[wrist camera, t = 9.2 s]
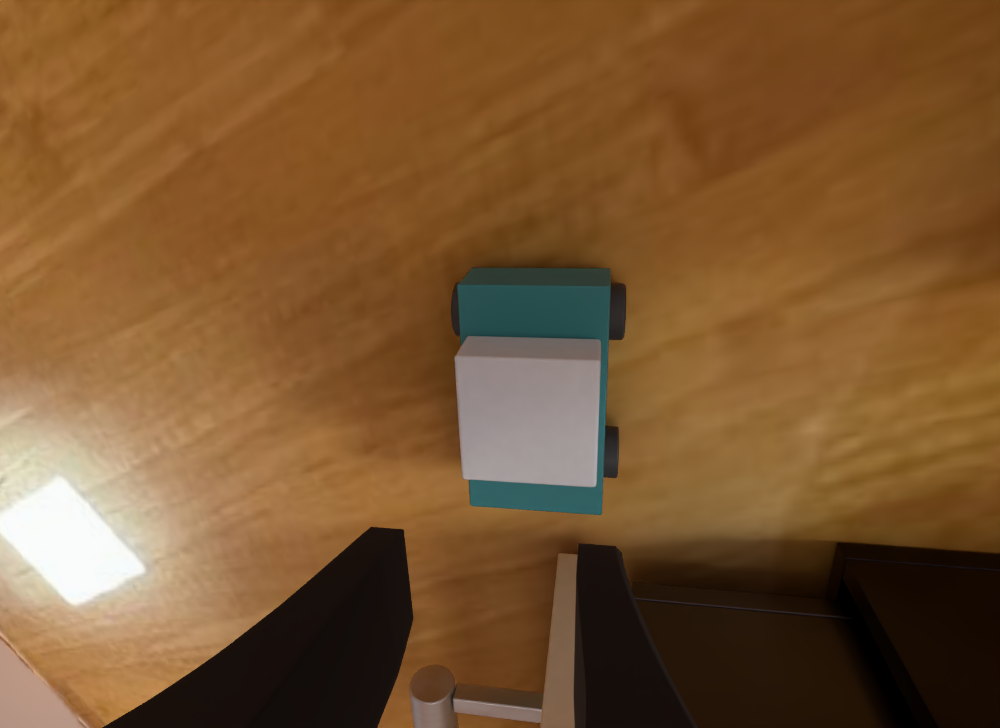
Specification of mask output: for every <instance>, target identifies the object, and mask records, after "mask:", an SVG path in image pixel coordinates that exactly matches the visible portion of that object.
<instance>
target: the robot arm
mask: <svg viewBox="0 0 1000 728" xmlns="http://www.w3.org/2000/svg"><path fill="white" fill-rule="evenodd" d="M412 622H413V610H412V601H411V592H410V583H409V574H408V565H407V556H406V547H405V538H404V530H403V529H390V528H378V527H370V528H369V529H368V530H367V531H366V532H364V533H363V534H362V535H361V536H360V537H359V538H357V539H356V540H355V541H354V542H353V543H352V544H351V545H349V546H348V547H347V548H346V549H345V550H344V551H343V552H341V553H340V554H339V555H338V556H337V557H336V558H335V559H333V560H332V561H331V562H330V563H329V564H328V565H327V566H325V567H324V568H323V569H322V570H321V571H320V572H319V573H317V574H316V575H315V576H314V577H313V578H312V579H311V580H309V581H308V582H307V583H306V584H305V585H303V586H302V587H301V588H300V589H299V590H298V591H296V592H295V593H294V594H293V595H292V596H290V597H289V598H288V599H287V600H286V601H285V602H283V603H282V604H281V605H280V606H279V607H277V608H276V609H275V610H274V611H272V612H271V613H270V614H268V615H267V616H266V617H265V618H263V619H262V620H261V621H259V622H258V623H257V624H256V625H254V626H253V627H252V628H250V629H249V630H248V631H247V632H245V633H244V634H243V635H241V636H240V637H239V638H238V639H236V640H235V641H234V642H233V643H231V644H230V645H229V646H227V647H226V648H225V649H223V650H222V651H220V652H219V653H218V654H216V655H215V656H214V657H212V658H211V659H209V660H208V661H207V662H205V663H204V664H202V665H201V666H199V667H198V668H197V669H195V670H194V671H192V672H191V673H189V674H188V675H186V676H185V677H183V678H182V679H180V680H179V681H177V682H176V683H174V684H173V685H171V686H170V687H168V688H167V689H165V690H164V691H162V692H161V693H159V694H157V695H156V696H154V697H153V698H151V699H150V700H148V701H146V702H145V703H143V704H142V705H140V706H138V707H136V708H135V709H133V710H131V711H130V712H128V713H126V714H125V715H123V716H121V717H120V718H118V719H116V720H115V721H113V722H111V723H109V724H108V725H106V726H104V727H103V728H377V726H378V724H379V721H380V719H381V716H382V714H383V711H384V709H385V706H386V704H387V701H388V699H389V696H390V694H391V691H392V689H393V686H394V684H395V681H396V679H397V676H398V673H399V669H400V666H401V662H402V659H403V655H404V652H405V648H406V645H407V641H408V637H409V633H410V630H411V626H412ZM574 721H575V728H698V727H697V725H696V723H695V721H694V720H693V718H692V716H691V714H690V713H689V711H688V709H687V707H686V705H685V704H684V702H683V700H682V698H681V696H680V694H679V692H678V690H677V689H676V687H675V685H674V683H673V681H672V679H671V677H670V675H669V673H668V671H667V669H666V667H665V665H664V663H663V661H662V659H661V657H660V655H659V653H658V651H657V649H656V646H655V644H654V642H653V640H652V638H651V635H650V633H649V631H648V629H647V627H646V625H645V622H644V620H643V617H642V615H641V613H640V610H639V608H638V605H637V602H636V600H635V597H634V595H633V592H632V589H631V586H630V583H629V580H628V577H627V574H626V570H625V567H624V563H623V558H622V553H621V552H620V550H619V549H618V548H617V547H616V546H607V545H594V544H581V543H578V555H577V569H576V605H575V651H574Z"/></svg>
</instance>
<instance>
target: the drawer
mask: <svg viewBox="0 0 1000 728" xmlns="http://www.w3.org/2000/svg"><path fill="white" fill-rule="evenodd" d="M576 569H577V555H575V554H563V553H559V554H558V561H557V570H556V580H555V589H554V599H553V609H552V618H551V628H550V638H549V647H548V657H547V666H546V676H545V686H544V693H538V692H530V691H521V690H513V689H505V688H496V687H488V686H479V685H471V684H463V683H457V685H456V688H455V679H454V676H453V674H452V673H451V671H450V670H449V669H447V668H446V667H444V666H441V665H429V666H425V667H423V668H421V669H420V670H418V671H417V672H416V673H415V674H414V675H413V677H412V679H411V681H410V684H409V691H410V699H411V707H412V716H413V724H414V728H459V727H458V715H457V713H463V714H471V715H479V716H487V717H495V718H503V719H511V720H518V721H526V722H534V723H541V724H540V728H575V721H574V651H575V605H576ZM632 592H633V595H634V597H635V600H636V602H637V605H638V608H639V610H640V613H641V615H642V617H643V620H644V622H645V625H646V627H647V629H648V631H649V633H650V635H651V638H652V640H653V642H654V644H655V646H656V649H657V651H658V653H659V655H660V657H661V659H662V661H663V663H664V665H665V667H666V669H667V671H668V673H669V675H670V677H671V679H672V681H673V683H674V685H675V687H676V689H677V690H678V692H679V694H680V696H681V698H682V700H683V702H684V704H685V705H686V707H687V709H688V711H689V713H690V714H691V716H692V718H693V720H694V721H695V723H696V725H697V727H698V728H920V727H919V725H918V723H917V721H916V719H915V717H914V715H913V713H912V711H911V710H910V708H909V706H908V704H907V702H906V700H905V698H904V696H903V694H902V692H901V690H900V688H899V686H898V684H897V683H896V681H895V679H894V677H893V675H892V673H891V671H890V669H889V667H888V665H887V663H886V661H885V659H884V657H883V656H882V654H881V652H880V650H879V648H878V646H877V644H876V642H875V640H874V638H873V636H872V634H871V632H870V630H869V629H868V627H867V625H866V623H865V621H864V619H863V617H862V615H861V613H860V611H859V609H858V607H857V605H856V603H855V601H843V600H832V599H820V598H809V597H797V596H786V595H775V594H763V593H752V592H740V591H729V590H717V589H706V588H694V587H683V586H672V585H660V584H649V583H637V582H633V583H632Z"/></svg>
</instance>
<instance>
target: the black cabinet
mask: <svg viewBox="0 0 1000 728" xmlns="http://www.w3.org/2000/svg"><path fill="white" fill-rule="evenodd" d="M825 599H832V600H843V601H855V603H856V605H857V607H858V609H859V611H860V613H861V615H862V617H863V619H864V621H865V623H866V625H867V627H868V629H869V630H870V632H871V634H872V636H873V638H874V640H875V642H876V644H877V646H878V648H879V650H880V652H881V654H882V656H883V657H884V659H885V661H886V663H887V665H888V667H889V669H890V671H891V673H892V675H893V677H894V679H895V681H896V683H897V684H898V686H899V688H900V690H901V692H902V694H903V696H904V698H905V700H906V702H907V704H908V706H909V708H910V710H911V711H912V713H913V715H914V717H915V719H916V721H917V723H918V725H919V727H920V728H1000V555H999V554H986V553H972V552H958V551H945V550H931V549H917V548H904V547H890V546H876V545H863V544H849V543H838V544H837V548H836V552H835V557H834V561H833V566H832V570H831V575H830V579H829V584H828V588H827V592H826V597H825Z"/></svg>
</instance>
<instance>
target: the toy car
mask: <svg viewBox="0 0 1000 728" xmlns="http://www.w3.org/2000/svg"><path fill="white" fill-rule="evenodd" d="M451 318H452V326H453V330H454V332H455V334H456V335H457V336H460V341H461V348H460V349H459V351H458V352H457V354H456V356H455V358H454V360H455V375H456V391H457V407H458V422H459V438H460V456H461V469H462V477H463V479H469V493H470V505H471V506H480V507H494V508H509V509H523V510H537V511H551V512H565V513H579V514H593V515H601V514H602V495H603V477H608V478H616V477H617V474H618V457H619V429H618V427H614V426H605V421H606V396H607V371H608V346H609V340H622V339H623V338H624V333H625V320H626V286H625V285H624V284H611V279H610V269H609V268H472V269H471V270H470V271H469V272H468V273H467V275H466V276H465V277H464V278H463V279H462V280H461V281H460V282H458V283H456V284H455V287H454V290H453V294H452V302H451Z"/></svg>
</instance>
